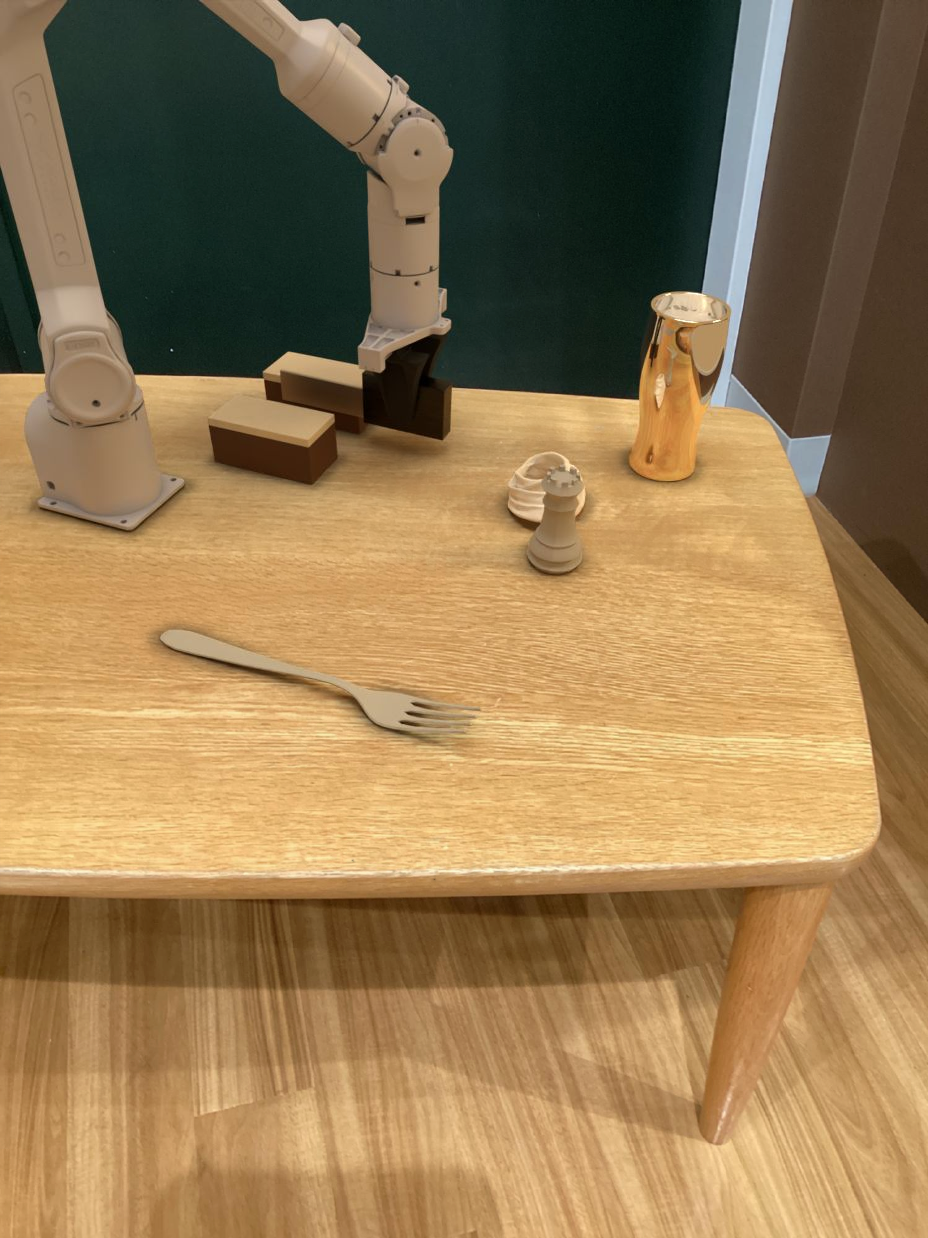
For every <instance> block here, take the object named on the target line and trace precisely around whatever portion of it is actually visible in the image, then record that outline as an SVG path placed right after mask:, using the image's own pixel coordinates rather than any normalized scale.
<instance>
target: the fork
mask: <svg viewBox="0 0 928 1238" xmlns="http://www.w3.org/2000/svg"><path fill="white" fill-rule="evenodd" d="M159 639H160V641H161V642H162V643H163V644H164V645H165V646H166V647H169V648H171V649H173V650H174V651H175V650H176V651H179V652H182V653H186V654H191V655H195V656H199V657H202V658H203V657H204V658H208V659H211V660H216V661H221V662H224V663H229V664H233V665H238V666H242V667H247V668H252V669H257V670H263V671H266V672H267V671H268V672H273V673H279V674H284V675H288V676H294V677H297V678H299V677H300V678H304V679H307V680H313V681H318V682H321V683H325V684H329V685H332V686H334V687H337V688H339V689H341V690H343V691H344V692H347V693H348V694H349V695H351V696H352V697H353V698H355V700H356V701H357V702H358V704H359V705H360V707H361V708H362V710H363V711H364V713H365V714H366V716H367V717H368V719H370V720H371V721H372V722H373V723H375V724H376V725H378V726H380V727H383V728H387V729H391V730H400V731H407V732H418V733H420V732H421V733H433V734H434V733H435V734H457V735H458V734H460V735H462V734H463V735H466V734H468V730H467V729H457V728H456V729H455V728H441V727H428V726H427V727H426V726H414V725H409V724H403V722H404V723H405V722H406V723H419V724H432V725H443V726H453V727H454V726H457V727H473V722H469V721H456V720H446V719H436V718H426V717H418V716H415V715H411V714H408V713H414V714H415V713H416V714H421V715H423V714H425V715H432V716H440V717H442V716H443V717H449V718H462V719H477V718H479V716H478V715H477V714H472V713H470V714H469V713H462V712H454V711H446V710H445V711H444V710H436V709H428V708H424V707H420V706H416V705H414V704H418V705H425V706H433V707H440V708H447V709H453V710H454V709H455V710H462V711H472V712H473V711H474V712H482V710H483V707H481V706H472V705H463V704H456V703H449V702H443V701H436V700H430V699H426V698H422V697H417V696H414V695H410V694H407V693H406V694H405V693H401V692H396V691H385V690H383V691H381V690H373V689H369V688H365V687H362V686H360V685H357V684H355V683H353V682H350V681H348V680H345V679H343V678H340V677H337V676H334V675H330V674H327V673H325V672H324V673H323V672H320V671H316V670H313V669H308V668H304V667H300V666H298V665H294V664H291V663H288V662H284V661H281V660H277V659H275V658H272V657H269V656H266V655H263V654H260V653H257V652H253V651H250V650H247V649H244V648H242V647H239V646H236V645H233V644H230V643H227V642H224V641H221V640H218V639H215V638H212V637H210V636H206V635H204V634H201V633H197V632H194V631H191V630H185V629H168V630H166V631H164V632H162V633H161V635H160V636H159Z"/></svg>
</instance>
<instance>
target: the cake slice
mask: <svg viewBox="0 0 928 1238" xmlns="http://www.w3.org/2000/svg"><path fill="white" fill-rule="evenodd" d="M281 369H282V370H286V371H291V372H295V373H300V374H305V375H309V376H314V377H318V378H323V379H327V380H332V381H336V382H341V383H346V384H350V385H355V386H359V387H362V373H363V372H364V371H365V370H363V369H359V364H354V363H350V362H344V361H338V360H333V359H328V358H323V357H319V356H313V355H309V354H303V353H299V352H292V351H286V353H285V354H283V355H282V356H281V357H279V358H278V359H277V360H276V361H274V362H273V363H272V364H271V365H269V366H268V367H267V368H266V369H264V370H263V371H262V377H263V385H264V392H265V400H269V401H274V402H279V403H284V404H288V405H293V406H298V407H302V408H307V409H312V410H316V411H321V412H326V413H330V414H334V418H335V430H339V431H343V432H349V433H353V434H361V433H362V432H363V431H364V430H365V429H366V428H367V426H369V424H367V423H364V421H363V418H362V417H357V416H353V415H349V414H344V413H340V412H336V411H331V410H327V409H322V408H318V407H314V406H309V405H305V404H301V403H296V402H292V401H287V400H283V399H282V389H281V378H280V370H281Z"/></svg>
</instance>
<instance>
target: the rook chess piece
mask: <svg viewBox="0 0 928 1238" xmlns="http://www.w3.org/2000/svg"><path fill="white" fill-rule="evenodd" d="M565 467H566V465H559V470H556V468H555V467H554V466H552V467H550V468H549V472H548V471H547V475H546V476H545V477H544V478H543V479H542V481H541V487H542V488H543V489H544V491H545V492H546V495H545V496H544V497H543V499H542V501H543V504H544V512H543V516H542V520H541V522H539V523H540V524H539V525H538V526H537V527H536V529H535V531H534V532H533V533H532V535H531V537H530V539H529V541H528V549H527V550H526V554H527V558H528V560H529V562H531V564H532V565H533V566H534V567H535V568H536V569H538V570H539V571H541V572H544V573H547V574H552V575H555V574H556V575H561V574H566V573H569V572H571V571H573V570H574V569H576V568H577V567H578V566H579V565H580V564H581V562H582V561H583V551H584V547H583V542H582V538H581V537H580V535H579V532H578V530H577V528H576V517H575V511H576V508H577V507H578V505H579V500H578V499H577V495H579V494H580V493H581V492H582V490H583V489H584V486H585V482H584V481H583V482H584V483H583V482H582V480H581V479H580V476H581V477H582V475H581V472H580V471H579V472H577V469H578V468H577V467H576V468H577V469H576V468H574V467H571V468H570V471H566V470H565ZM555 470H556V471H555Z"/></svg>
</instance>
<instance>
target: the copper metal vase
mask: <svg viewBox="0 0 928 1238" xmlns="http://www.w3.org/2000/svg"><path fill="white" fill-rule="evenodd" d="M649 307H650V308H649V312H648V315H647V320H646V324H645V328H644V331H643V336H642V342H641V348H640V355H639V363H638V403H639V406H638V407H639V408H638V409H639V410H638V411H639V419H638V429H637V434H636V438H635V441H634V443H633V445H632V448H631V451H630V453H629V455H628V464H629V466H630V468H631V469H632V470H633V471H634V472H635V473H637V474H638V475H640V476H641V477H643V478H646V479H649V480H653V481H656V482H657V481H658V482H676V481H681V480H685V479H687V478H689V477H690V476H691V475H692V474H693V473H694V472H695V469H696V446H697V439H698V438H697V437H698V434H699V430H700V427H701V424H702V421H703V419H704V416H705V414H706V412H707V409H708V406H709V405H710V402H711V399H712V397H713V395H714V392H715V390H716V386H717V384H718V382H719V378H720V376H721V372H722V368H723V364H724V359H725V356H726V355H725V354H726V349H727V344H728V343H727V342H728V336H729V329H730V321H731V320H730V319H731V315H732V308H731V306H730V305H729V304H728V303H727V302H725V301H724V300H723V299H720V298H718V297H716V296H713V295H709V294H706V293H702V292H695V291H683V290H682V291H681V290H680V291H670V292H664V293H661V294H658V295H656V296H654V297H653V298H652V300H651V301H650V306H649Z"/></svg>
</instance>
